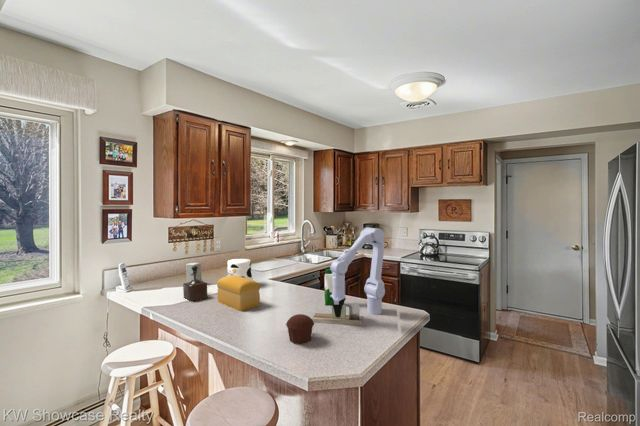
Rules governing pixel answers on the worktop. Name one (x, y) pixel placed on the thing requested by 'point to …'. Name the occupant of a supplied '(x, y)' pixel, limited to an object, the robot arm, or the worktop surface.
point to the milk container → (240, 268)
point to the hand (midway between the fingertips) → (338, 315)
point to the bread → (238, 292)
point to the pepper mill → (195, 288)
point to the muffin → (300, 328)
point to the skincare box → (190, 271)
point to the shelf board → (328, 319)
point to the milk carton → (328, 287)
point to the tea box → (343, 313)
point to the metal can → (354, 311)
